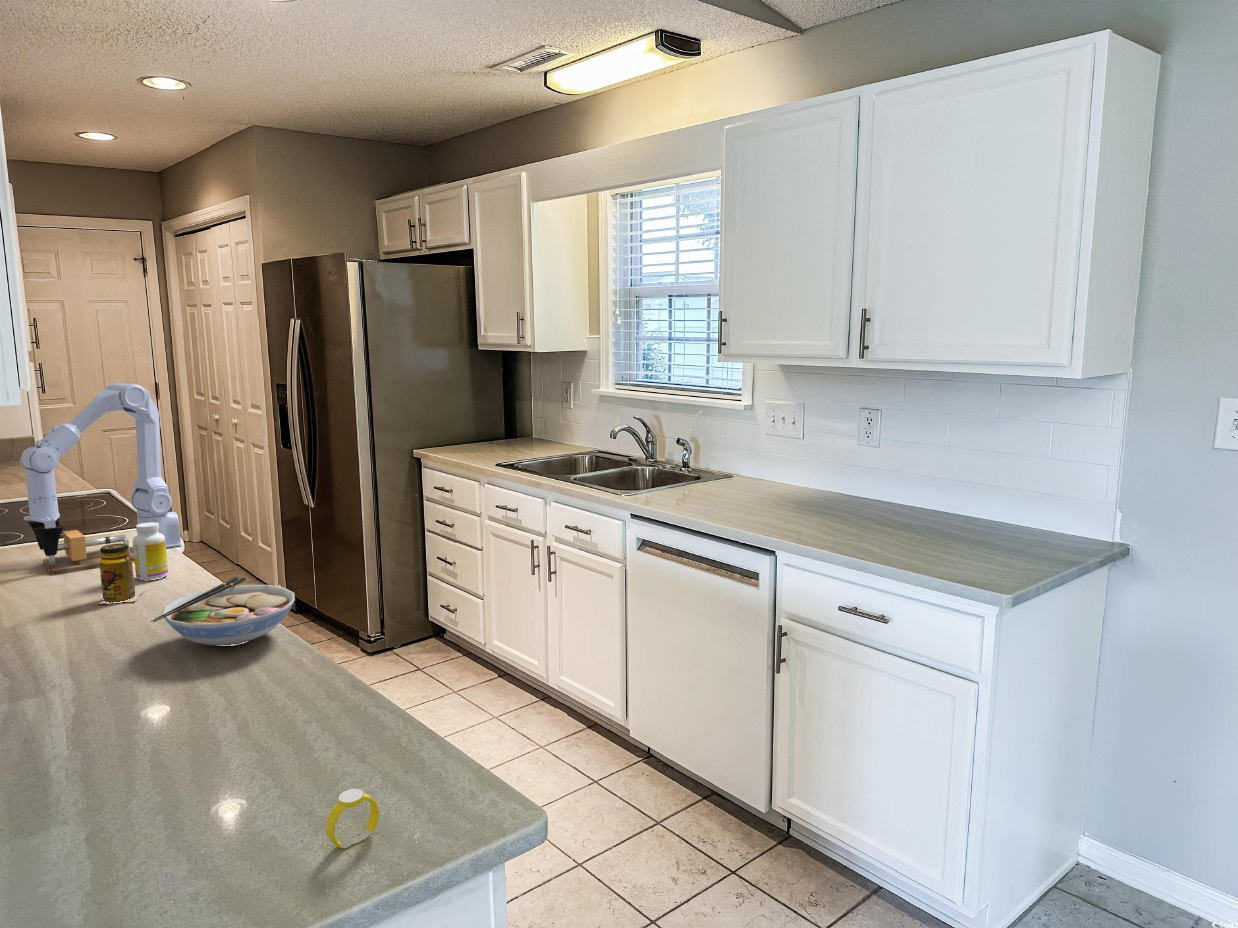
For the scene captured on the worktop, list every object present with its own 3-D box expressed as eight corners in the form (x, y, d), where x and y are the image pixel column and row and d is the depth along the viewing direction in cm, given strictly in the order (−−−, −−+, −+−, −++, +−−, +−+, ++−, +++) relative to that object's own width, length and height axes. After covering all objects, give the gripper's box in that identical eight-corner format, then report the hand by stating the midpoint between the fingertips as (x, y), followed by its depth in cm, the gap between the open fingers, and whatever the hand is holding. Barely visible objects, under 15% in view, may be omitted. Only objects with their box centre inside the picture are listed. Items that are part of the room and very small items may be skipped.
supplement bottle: (174, 574, 200) (170, 521, 198) (156, 582, 193) (152, 528, 191) (148, 573, 200) (143, 520, 198) (129, 581, 194) (124, 527, 192)
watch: (337, 860, 94) (331, 813, 93) (325, 849, 96) (319, 803, 95) (384, 833, 98) (379, 788, 97) (372, 823, 100) (366, 779, 99)
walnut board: (125, 550, 220) (125, 547, 219) (138, 561, 210) (137, 557, 210) (43, 563, 208) (42, 559, 207) (52, 575, 198) (52, 571, 198)
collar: (79, 551, 211) (77, 529, 210) (87, 558, 204) (84, 536, 203) (65, 553, 209) (62, 531, 208) (72, 561, 202) (70, 538, 201)
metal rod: (128, 551, 215) (126, 533, 214) (129, 553, 214) (128, 534, 213) (49, 564, 204) (47, 544, 203) (50, 565, 202) (48, 545, 202)
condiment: (96, 606, 177) (91, 551, 175) (107, 593, 185) (102, 541, 183) (135, 602, 179) (130, 548, 177) (144, 591, 187) (140, 538, 185)
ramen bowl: (245, 671, 144) (242, 626, 143) (130, 660, 148) (126, 616, 147) (324, 622, 168) (321, 582, 167) (223, 613, 173) (220, 575, 171)
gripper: (17, 494, 203) (23, 548, 205) (27, 503, 192) (33, 561, 194) (52, 490, 208) (57, 544, 210) (63, 499, 197) (69, 555, 199)
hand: (48, 552), depth 202 cm, fingers open, 7 cm apart
